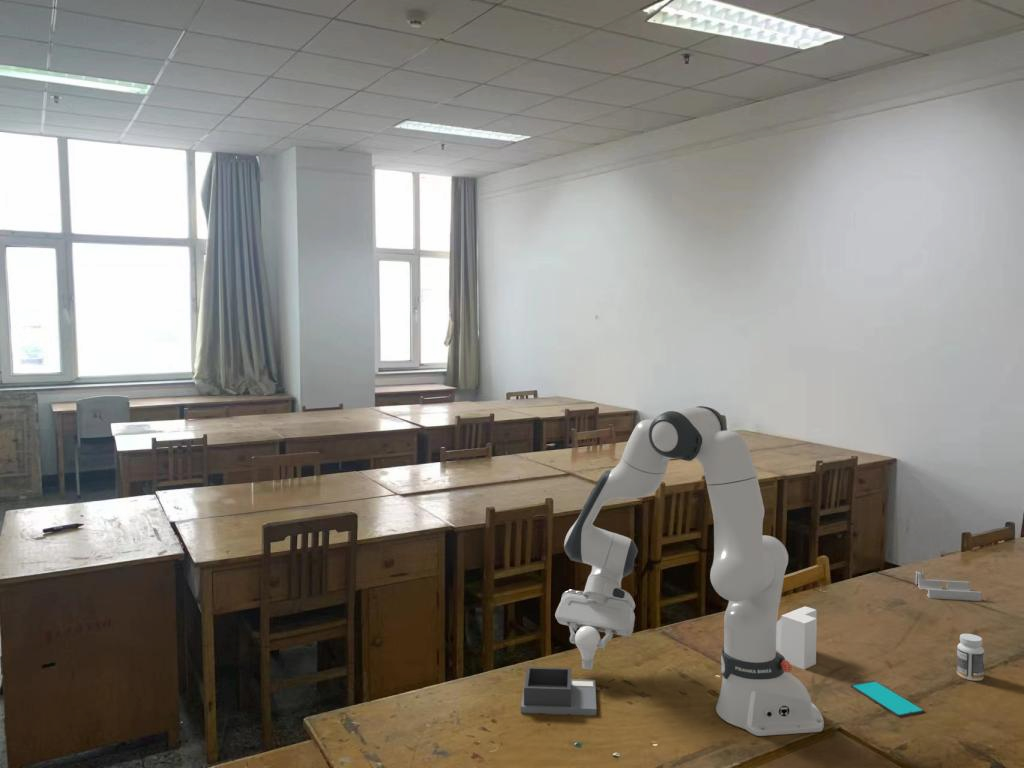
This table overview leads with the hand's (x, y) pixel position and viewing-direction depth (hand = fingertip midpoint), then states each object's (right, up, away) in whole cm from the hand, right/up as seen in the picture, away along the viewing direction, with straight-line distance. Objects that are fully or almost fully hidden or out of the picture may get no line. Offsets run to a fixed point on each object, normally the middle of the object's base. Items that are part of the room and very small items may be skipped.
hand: (586, 645), depth 184 cm
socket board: (-7, -9, -10) cm, 15 cm away
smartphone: (+68, -9, -12) cm, 70 cm away
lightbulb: (0, -7, +1) cm, 7 cm away
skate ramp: (+123, -4, +57) cm, 136 cm away
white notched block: (+56, -7, +11) cm, 58 cm away
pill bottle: (+94, -7, -1) cm, 95 cm away
